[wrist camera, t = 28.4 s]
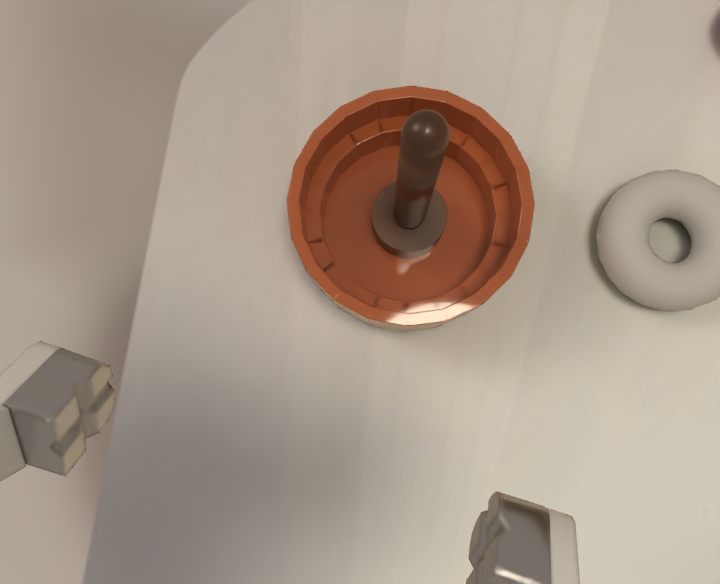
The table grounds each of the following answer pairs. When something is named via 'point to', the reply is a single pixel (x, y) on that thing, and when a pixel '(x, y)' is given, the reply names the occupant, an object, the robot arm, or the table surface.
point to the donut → (634, 254)
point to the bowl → (379, 169)
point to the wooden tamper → (414, 190)
